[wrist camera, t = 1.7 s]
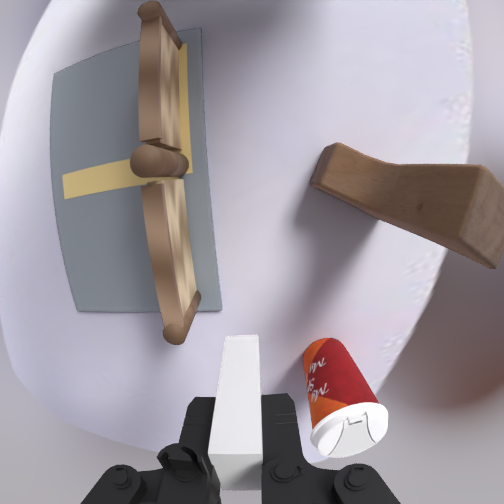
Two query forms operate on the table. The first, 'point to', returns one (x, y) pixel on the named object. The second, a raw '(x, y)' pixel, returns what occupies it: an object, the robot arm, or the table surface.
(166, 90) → the fence fixed
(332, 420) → the paper cup
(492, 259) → the wooden block
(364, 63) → the table surface
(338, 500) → the robot arm
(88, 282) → the card
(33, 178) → the table surface
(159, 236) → the fence gate
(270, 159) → the table surface
